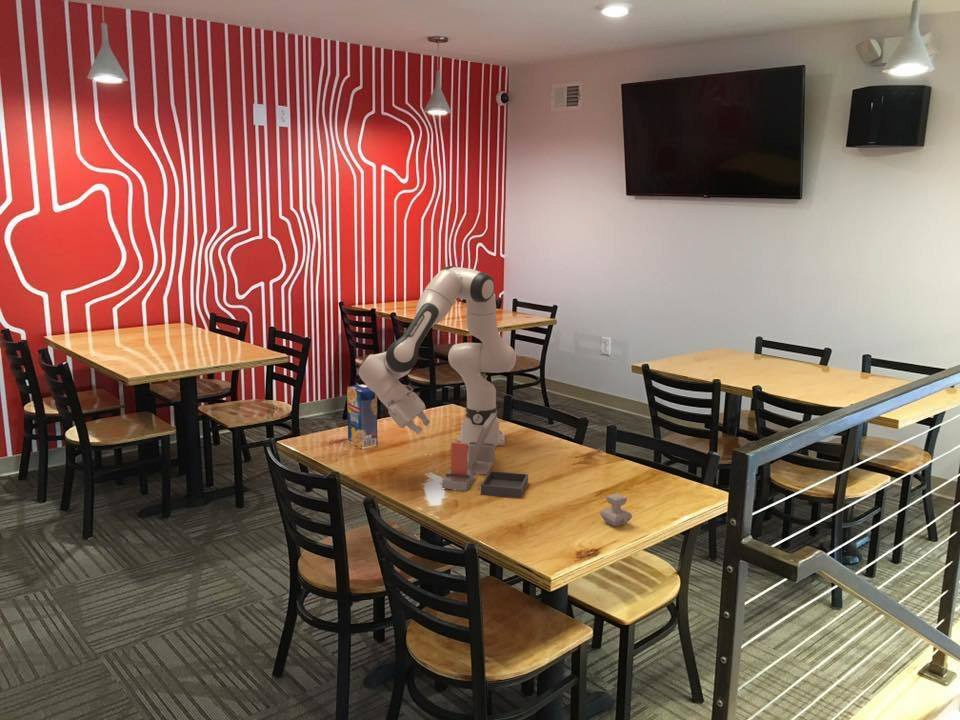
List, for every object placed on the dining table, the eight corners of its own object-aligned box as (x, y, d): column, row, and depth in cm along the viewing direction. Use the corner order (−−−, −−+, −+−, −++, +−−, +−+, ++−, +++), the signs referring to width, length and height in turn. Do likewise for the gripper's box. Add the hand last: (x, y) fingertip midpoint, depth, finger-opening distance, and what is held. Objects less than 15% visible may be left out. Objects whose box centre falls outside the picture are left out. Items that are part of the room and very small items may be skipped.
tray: (489, 479, 259) (489, 470, 259) (528, 483, 257) (528, 474, 256) (480, 494, 246) (480, 485, 245) (520, 498, 243) (521, 488, 243)
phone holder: (469, 457, 282) (470, 409, 278) (496, 459, 280) (497, 411, 276) (457, 473, 265) (458, 422, 262) (486, 475, 263) (487, 424, 260)
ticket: (452, 482, 256) (452, 441, 254) (466, 483, 255) (467, 443, 252) (450, 483, 255) (451, 443, 252) (465, 485, 254) (466, 444, 251)
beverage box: (363, 439, 302) (363, 384, 298) (377, 446, 293) (377, 389, 289) (348, 442, 298) (347, 386, 294) (361, 449, 289) (360, 392, 285)
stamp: (634, 526, 223) (636, 499, 221) (617, 531, 219) (619, 503, 218) (613, 516, 230) (614, 489, 229) (596, 520, 227) (597, 493, 225)
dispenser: (451, 476, 262) (451, 466, 261) (474, 478, 260) (475, 468, 259) (442, 488, 250) (442, 478, 249) (466, 491, 248) (466, 480, 248)
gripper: (391, 398, 243) (421, 431, 243) (411, 384, 263) (439, 414, 263) (378, 411, 245) (408, 443, 245) (399, 396, 265) (426, 426, 265)
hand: (424, 428), depth 254 cm, fingers open, 8 cm apart
